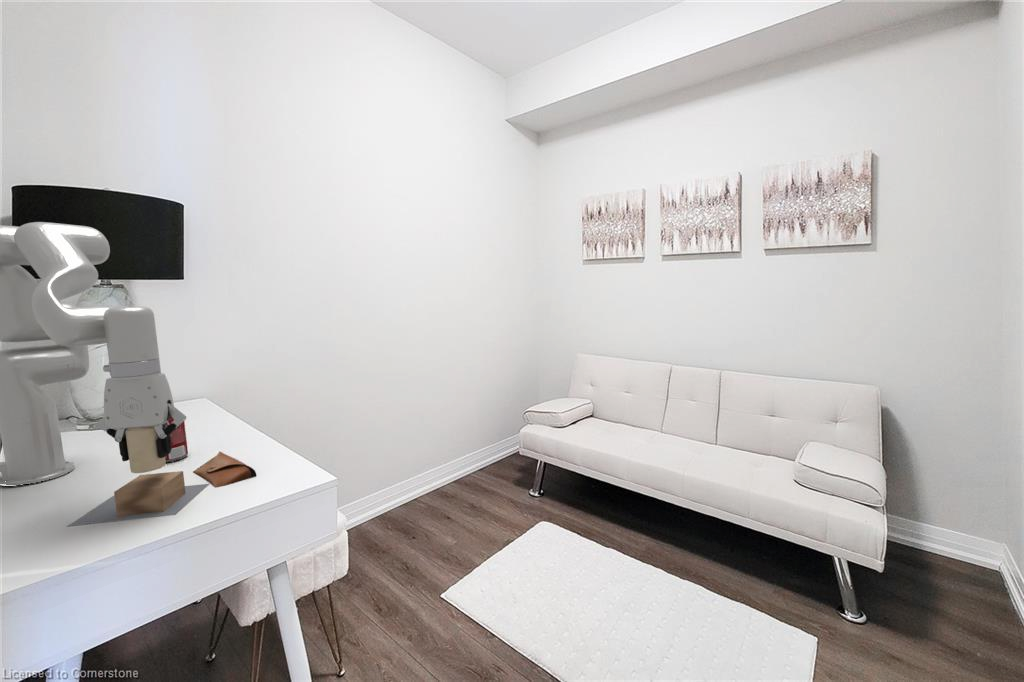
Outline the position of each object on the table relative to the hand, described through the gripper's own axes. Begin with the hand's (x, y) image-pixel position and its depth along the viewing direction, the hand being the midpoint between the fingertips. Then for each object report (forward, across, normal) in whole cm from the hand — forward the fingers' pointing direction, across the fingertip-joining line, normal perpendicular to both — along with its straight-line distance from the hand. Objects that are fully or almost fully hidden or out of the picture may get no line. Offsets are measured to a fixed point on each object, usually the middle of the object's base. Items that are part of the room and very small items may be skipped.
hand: (147, 456), depth 88 cm
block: (+10, 0, 0) cm, 10 cm away
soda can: (+11, -11, +29) cm, 33 cm away
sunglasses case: (+12, +7, +14) cm, 19 cm away
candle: (+3, 0, 0) cm, 3 cm away
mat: (+11, -2, +1) cm, 11 cm away
